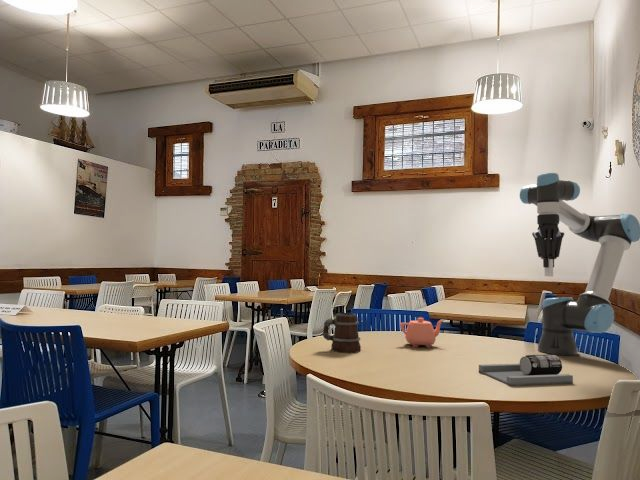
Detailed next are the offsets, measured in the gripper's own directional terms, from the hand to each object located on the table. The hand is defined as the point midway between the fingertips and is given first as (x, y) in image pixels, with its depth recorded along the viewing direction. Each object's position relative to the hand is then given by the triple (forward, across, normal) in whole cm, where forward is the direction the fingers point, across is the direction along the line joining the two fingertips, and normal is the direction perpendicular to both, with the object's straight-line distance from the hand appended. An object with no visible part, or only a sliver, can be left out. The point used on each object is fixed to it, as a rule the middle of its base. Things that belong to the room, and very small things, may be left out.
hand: (548, 276), depth 180 cm
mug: (+31, +71, -36) cm, 86 cm away
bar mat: (+32, +25, +17) cm, 44 cm away
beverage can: (+28, +13, +18) cm, 36 cm away
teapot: (+32, +32, -41) cm, 61 cm away
